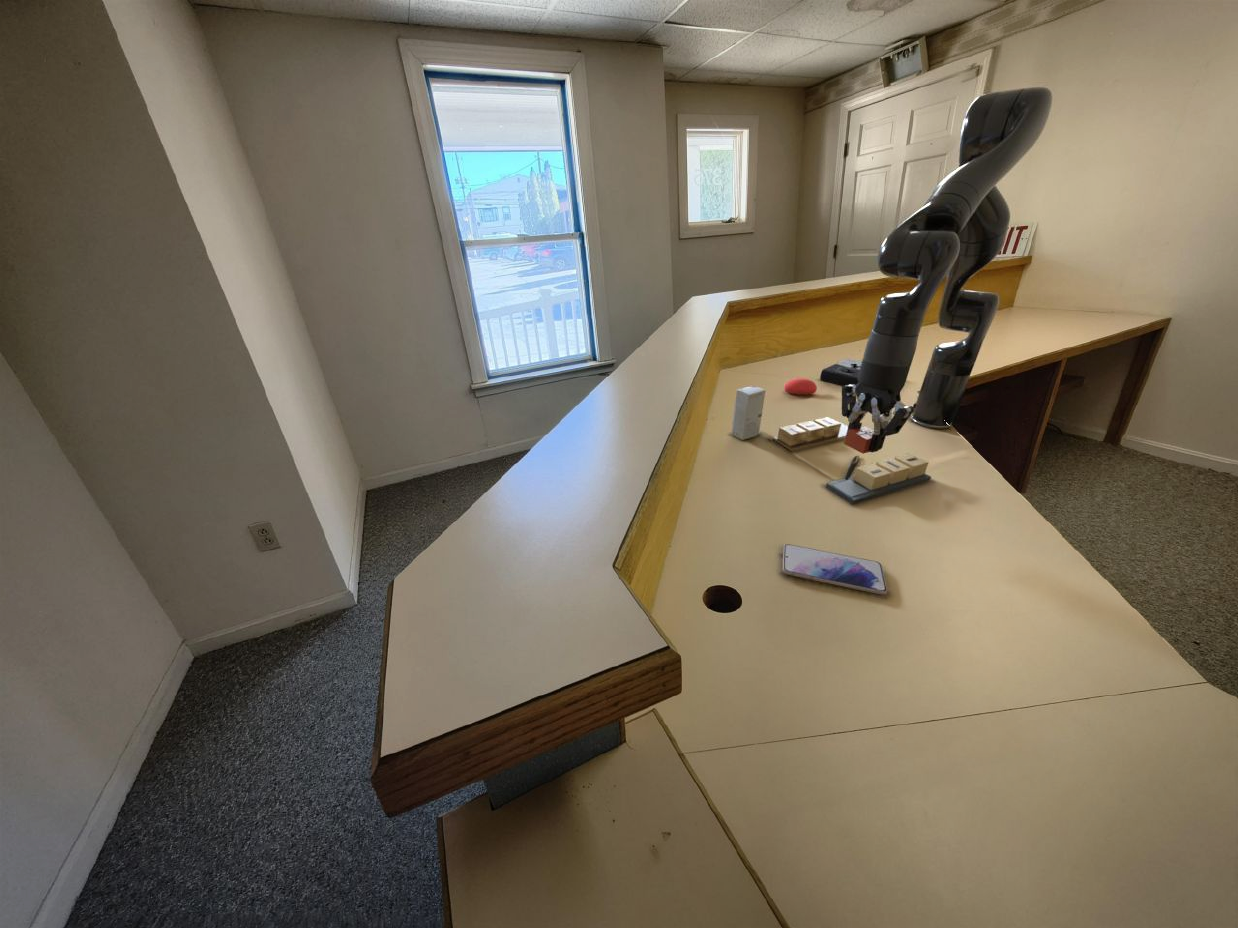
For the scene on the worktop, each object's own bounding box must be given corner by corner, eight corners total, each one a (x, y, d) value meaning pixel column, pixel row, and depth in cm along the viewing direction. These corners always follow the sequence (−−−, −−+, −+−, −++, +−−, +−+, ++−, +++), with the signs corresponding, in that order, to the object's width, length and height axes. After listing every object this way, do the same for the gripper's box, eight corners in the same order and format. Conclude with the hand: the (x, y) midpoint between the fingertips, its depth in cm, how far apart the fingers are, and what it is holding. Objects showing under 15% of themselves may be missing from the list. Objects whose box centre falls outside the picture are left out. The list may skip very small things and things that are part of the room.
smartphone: (888, 593, 67) (782, 570, 71) (886, 597, 68) (781, 575, 72) (881, 561, 73) (784, 542, 77) (879, 565, 73) (783, 546, 78)
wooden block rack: (900, 465, 102) (906, 449, 100) (929, 480, 96) (936, 464, 94) (825, 487, 94) (829, 470, 92) (852, 504, 89) (857, 486, 87)
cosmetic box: (743, 440, 113) (749, 395, 107) (730, 434, 117) (735, 389, 111) (759, 434, 116) (767, 389, 110) (746, 428, 120) (753, 384, 114)
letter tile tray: (838, 425, 121) (841, 411, 119) (859, 435, 115) (863, 421, 113) (771, 440, 113) (774, 425, 111) (790, 452, 108) (794, 436, 106)
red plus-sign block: (860, 439, 90) (864, 425, 88) (880, 449, 86) (884, 434, 85) (843, 443, 88) (847, 429, 87) (862, 453, 85) (867, 439, 83)
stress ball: (809, 403, 138) (821, 385, 136) (783, 389, 139) (794, 371, 137) (807, 403, 142) (818, 385, 141) (781, 389, 144) (792, 371, 142)
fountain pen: (846, 486, 94) (848, 480, 93) (840, 485, 95) (842, 479, 94) (859, 458, 104) (861, 453, 103) (854, 457, 105) (855, 451, 104)
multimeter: (818, 380, 152) (822, 365, 149) (844, 368, 163) (847, 354, 160) (858, 390, 143) (862, 375, 141) (882, 376, 154) (887, 362, 152)
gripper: (941, 367, 74) (909, 458, 83) (869, 346, 86) (847, 427, 94) (909, 372, 72) (879, 466, 80) (839, 350, 83) (819, 434, 92)
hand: (862, 445), depth 87 cm, fingers closed on red plus-sign block, 4 cm apart
